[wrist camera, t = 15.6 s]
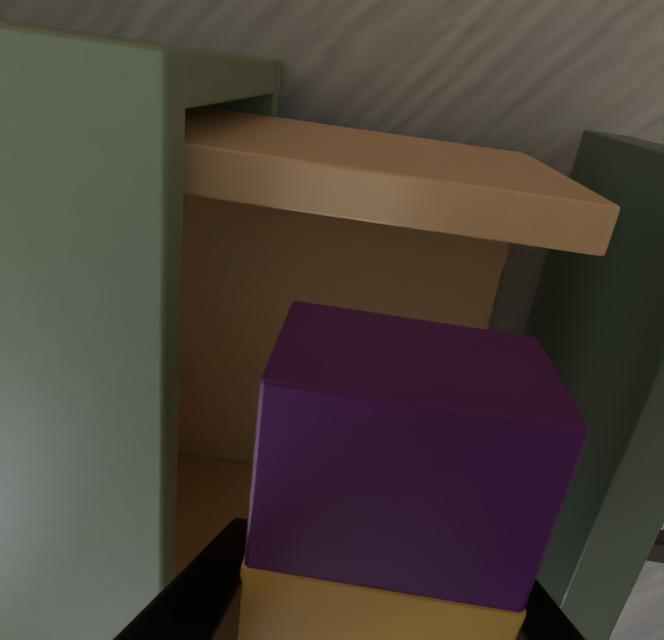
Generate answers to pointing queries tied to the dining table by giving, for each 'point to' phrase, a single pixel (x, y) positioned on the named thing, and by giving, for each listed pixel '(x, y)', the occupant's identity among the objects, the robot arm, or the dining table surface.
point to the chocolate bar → (402, 479)
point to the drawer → (429, 305)
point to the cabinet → (95, 316)
